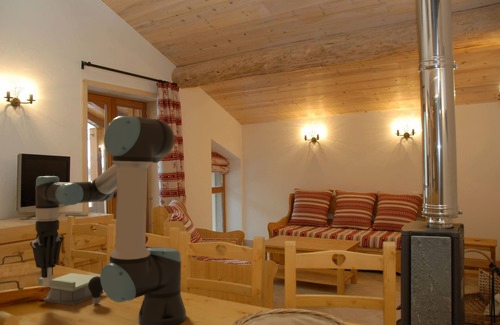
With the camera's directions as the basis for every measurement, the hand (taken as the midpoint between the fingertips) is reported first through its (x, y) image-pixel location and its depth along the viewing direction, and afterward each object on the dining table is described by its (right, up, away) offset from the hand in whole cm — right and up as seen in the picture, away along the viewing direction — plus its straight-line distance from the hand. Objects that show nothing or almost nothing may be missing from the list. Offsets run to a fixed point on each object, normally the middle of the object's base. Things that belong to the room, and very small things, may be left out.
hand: (47, 285), depth 146 cm
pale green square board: (+4, -2, +11) cm, 12 cm away
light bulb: (+17, -8, +2) cm, 18 cm away
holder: (+4, -7, +11) cm, 14 cm away
